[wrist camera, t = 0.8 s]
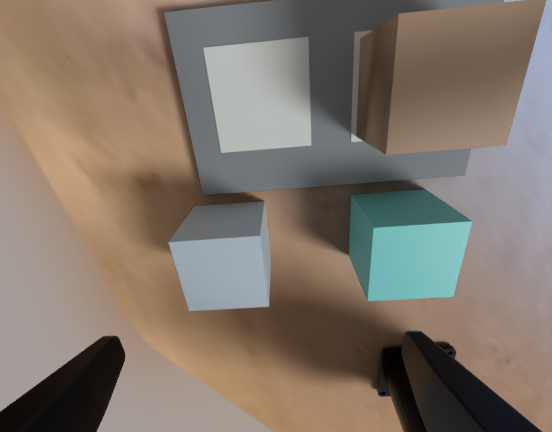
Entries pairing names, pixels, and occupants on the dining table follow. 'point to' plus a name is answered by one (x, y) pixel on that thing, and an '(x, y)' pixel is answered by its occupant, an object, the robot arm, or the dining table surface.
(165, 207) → the dining table surface
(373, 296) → the teal block
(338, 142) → the mat
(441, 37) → the walnut block
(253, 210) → the grey block
